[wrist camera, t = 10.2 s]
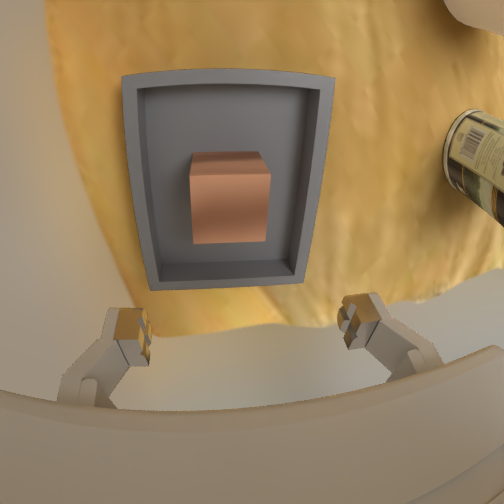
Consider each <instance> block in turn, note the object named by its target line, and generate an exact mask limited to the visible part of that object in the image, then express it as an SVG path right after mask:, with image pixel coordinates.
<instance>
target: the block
mask: <svg viewBox="0 0 504 504" xmlns="http://www.w3.org/2000/svg"><path fill="white" fill-rule="evenodd" d="M270 181H271V174H270V172H269V170H268V168H267V166H266V164H265V162H264V161H263V159H262V157H261V155H260V153H259V151H223V152H193V156H192V163H191V169H190V196H191V213H192V229H193V243H194V244H207V243H233V242H260V241H265V240H266V229H267V217H268V205H269V193H270Z"/></svg>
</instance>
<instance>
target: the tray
mask: <svg viewBox="0 0 504 504" xmlns="http://www.w3.org/2000/svg"><path fill="white" fill-rule="evenodd" d="M334 87H335V78H333V77H327V76H321V75H315V74H307V73H298V72H288V71H276V70H261V69H232V68H213V69H184V70H169V71H157V72H148V73H139V74H132V75H126V76H122V100H123V117H124V130H125V141H126V151H127V161H128V169H129V177H130V185H131V192H132V199H133V205H134V212H135V218H136V224H137V229H138V235H139V240H140V246H141V251H142V256H143V261H144V265H145V270H146V275H147V279H148V284H149V288H150V291H156V290H186V289H210V288H231V287H250V286H267V285H283V284H298V283H303V282H304V277H305V272H306V267H307V262H308V257H309V252H310V247H311V241H312V236H313V230H314V225H315V219H316V214H317V208H318V202H319V196H320V190H321V184H322V177H323V171H324V164H325V157H326V151H327V143H328V136H329V129H330V121H331V113H332V104H333V96H334ZM223 151H259V153H260V155H261V157H262V159H263V161H264V162H265V164H266V166H267V168H268V170H269V172H270V174H271V181H270V193H269V205H268V217H267V229H266V240H265V241H260V242H233V243H207V244H194V243H193V229H192V213H191V196H190V169H191V163H192V156H193V152H223Z"/></svg>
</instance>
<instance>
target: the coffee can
mask: <svg viewBox="0 0 504 504" xmlns="http://www.w3.org/2000/svg"><path fill="white" fill-rule="evenodd" d="M443 165H444V171H445V175H446V178H447V180H448V182H449V183H450V185H451V186H452V187H453V188H455V189H456V190H458V191H460V192H461V193H462V194H464V195H465V196H466V197H468V198H469V199H470V200H472V201H473V202H474V203H476V204H477V205H478V206H479V207H481V208H482V209H483V210H484V211H486V212H487V213H488V214H489V215H490V216H492V217H493V218H494V219H495V220H496V221H497V222H499V223H500V224H501V225H502V226H503V227H504V121H503V120H501V119H499V118H497V117H494V116H492V115H490V114H487V113H485V112H484V111H482V110H478V109H472V110H468V111H466V112H464V113H463V114H461V115H460V116H459V117H458V118H457V119H456V120H455V122H454V124H453V125H452V127H451V129H450V131H449V133H448V135H447V138H446V142H445V146H444V152H443Z"/></svg>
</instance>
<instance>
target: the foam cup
mask: <svg viewBox="0 0 504 504" xmlns="http://www.w3.org/2000/svg"><path fill="white" fill-rule="evenodd" d="M443 1H444V3H445V5H446V6H447V8H448V10H449V12H450V13H451V14H452V15H453V16H454V17H455V18H456V19H457V20H458V21H459V22H461V23H463V24H465V25H467V26H471V27H474V28H478V29H482V30H485V31H489V32H492V33H495V34H498V35H502V36H504V0H443Z"/></svg>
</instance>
